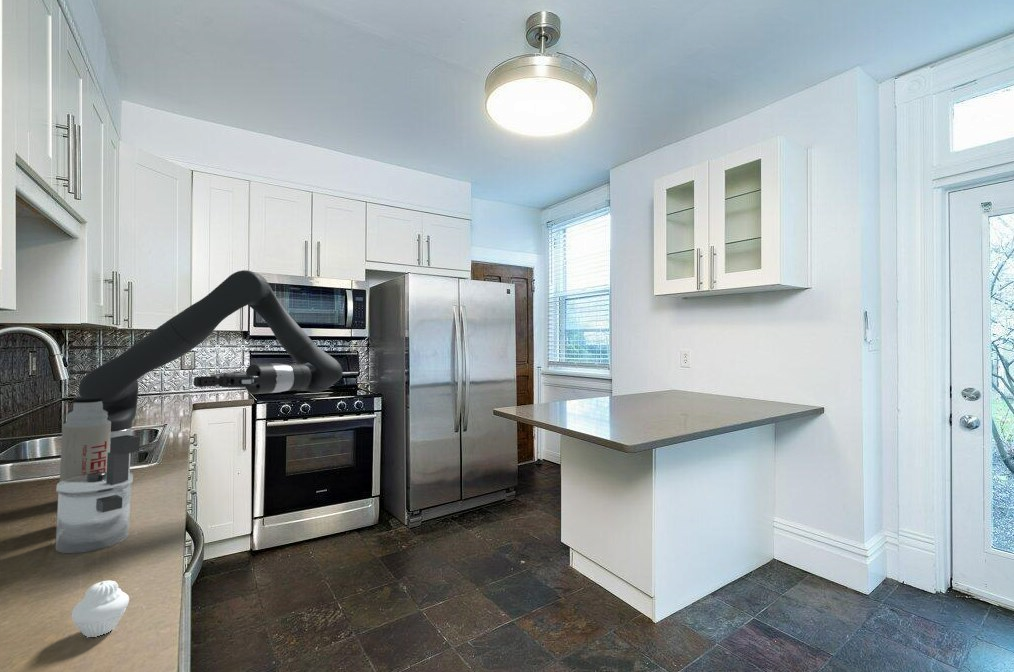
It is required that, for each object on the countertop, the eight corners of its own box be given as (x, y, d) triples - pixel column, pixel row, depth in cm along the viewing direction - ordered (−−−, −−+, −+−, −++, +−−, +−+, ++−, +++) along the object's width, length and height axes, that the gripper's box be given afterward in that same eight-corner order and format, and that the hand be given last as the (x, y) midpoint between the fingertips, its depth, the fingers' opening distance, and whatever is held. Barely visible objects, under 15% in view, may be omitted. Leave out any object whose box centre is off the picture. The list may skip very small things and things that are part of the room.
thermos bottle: (112, 523, 102) (118, 397, 103) (64, 535, 95) (70, 400, 96) (99, 515, 106) (104, 394, 107) (52, 526, 100) (58, 397, 100)
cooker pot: (47, 543, 91) (50, 488, 92) (116, 525, 101) (118, 475, 101) (72, 562, 84) (75, 502, 84) (144, 541, 93) (146, 487, 94)
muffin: (77, 625, 66) (80, 576, 66) (131, 613, 69) (134, 567, 69) (64, 650, 61) (66, 597, 61) (123, 637, 64) (125, 586, 64)
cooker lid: (40, 491, 89) (42, 438, 89) (103, 475, 100) (105, 428, 100) (99, 498, 86) (101, 443, 86) (157, 481, 97) (159, 432, 98)
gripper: (255, 362, 121) (181, 363, 106) (285, 364, 114) (211, 366, 99) (254, 390, 121) (180, 396, 106) (284, 395, 114) (210, 401, 99)
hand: (195, 381), depth 103 cm, fingers closed
